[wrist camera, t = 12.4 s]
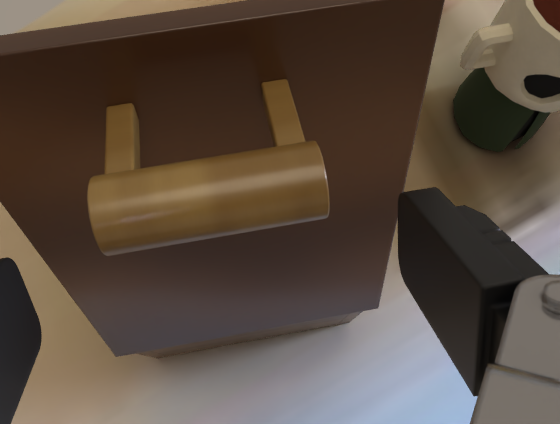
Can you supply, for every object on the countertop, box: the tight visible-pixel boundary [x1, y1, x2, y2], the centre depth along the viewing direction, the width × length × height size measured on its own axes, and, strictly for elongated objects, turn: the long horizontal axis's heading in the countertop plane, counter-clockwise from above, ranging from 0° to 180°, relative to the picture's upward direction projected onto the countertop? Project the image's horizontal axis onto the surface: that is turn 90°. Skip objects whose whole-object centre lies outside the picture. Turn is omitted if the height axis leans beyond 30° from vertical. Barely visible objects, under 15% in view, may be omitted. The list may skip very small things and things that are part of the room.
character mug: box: [453, 0, 560, 152], centre depth 33 cm, size 11×7×13 cm, turn 101°
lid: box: [0, 0, 444, 357], centre depth 18 cm, size 16×13×5 cm
